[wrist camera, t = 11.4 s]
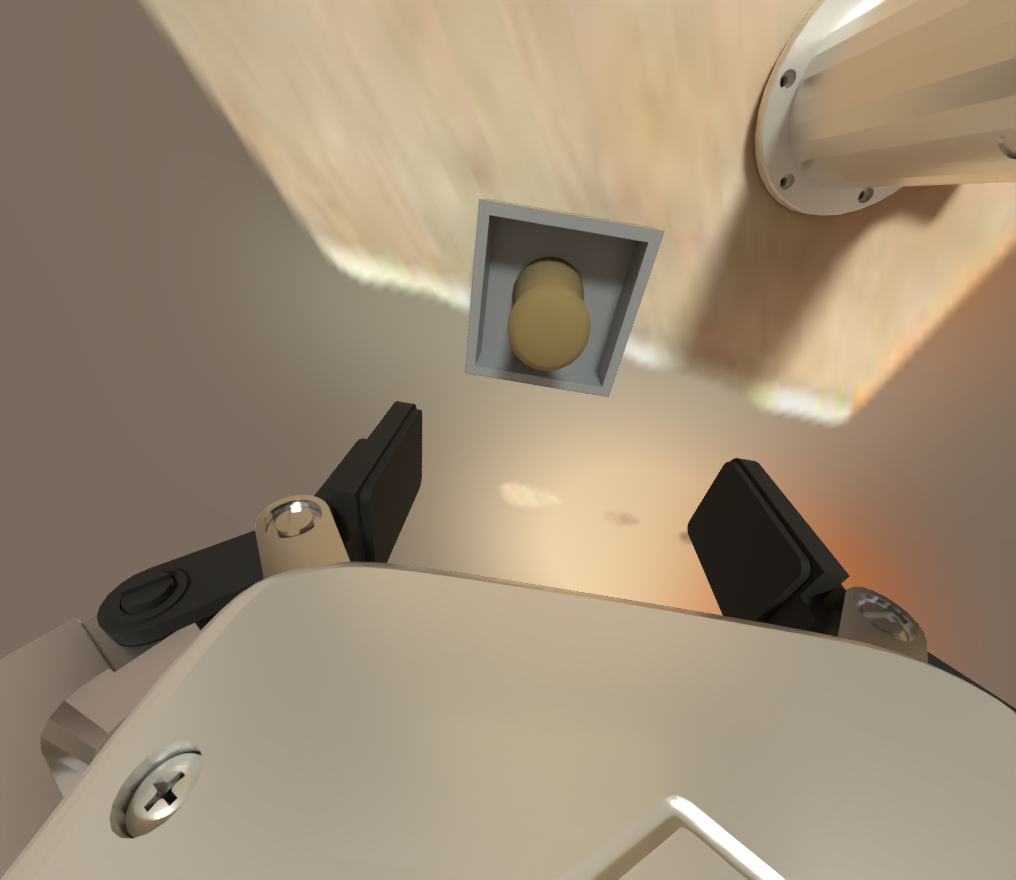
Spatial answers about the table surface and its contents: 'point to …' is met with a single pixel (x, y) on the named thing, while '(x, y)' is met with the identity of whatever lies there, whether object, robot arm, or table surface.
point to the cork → (548, 315)
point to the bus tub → (603, 270)
